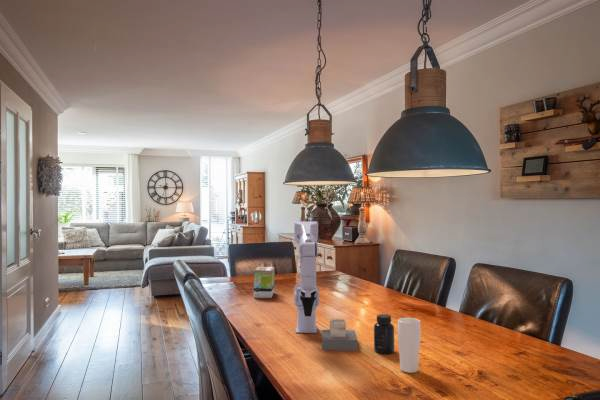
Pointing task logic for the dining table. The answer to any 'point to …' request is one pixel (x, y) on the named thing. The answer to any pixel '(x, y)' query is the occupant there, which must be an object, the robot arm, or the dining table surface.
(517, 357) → the dining table surface
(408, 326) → the drinking glass
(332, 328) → the birch block
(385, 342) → the supplement bottle
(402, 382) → the dining table surface
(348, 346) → the charcoal box
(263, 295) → the tea box
